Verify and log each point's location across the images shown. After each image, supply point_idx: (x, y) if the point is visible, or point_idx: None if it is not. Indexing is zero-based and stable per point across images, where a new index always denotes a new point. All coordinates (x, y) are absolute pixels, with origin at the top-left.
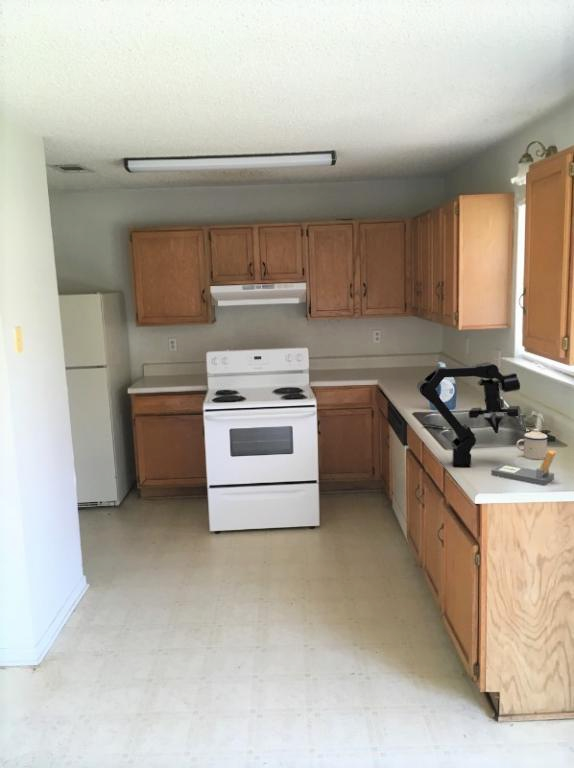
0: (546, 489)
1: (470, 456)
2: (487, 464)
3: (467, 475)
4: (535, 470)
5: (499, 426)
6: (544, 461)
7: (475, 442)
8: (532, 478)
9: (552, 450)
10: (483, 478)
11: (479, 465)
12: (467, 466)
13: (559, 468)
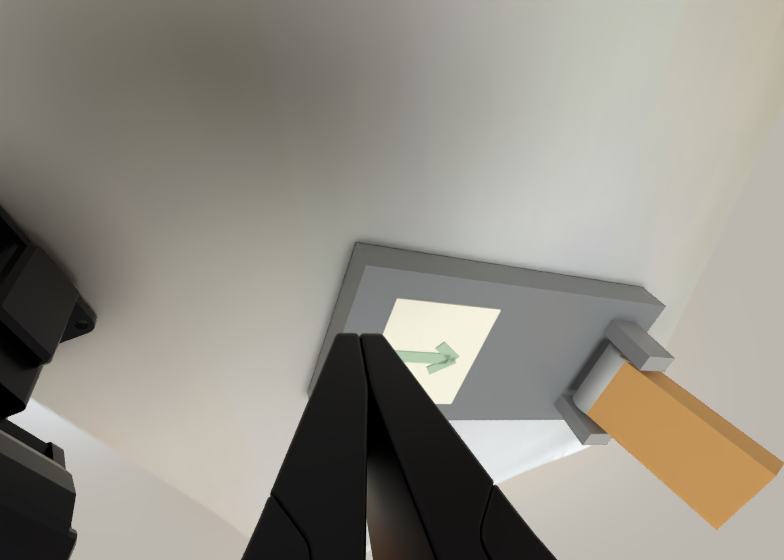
0: (563, 428)
1: (53, 350)
2: (209, 163)
3: (166, 458)
4: (580, 302)
5: (454, 433)
6: (653, 468)
7: (73, 499)
8: (533, 417)
9: (767, 482)
10: (276, 451)
11: (149, 226)
12: (75, 334)
13: (770, 41)
